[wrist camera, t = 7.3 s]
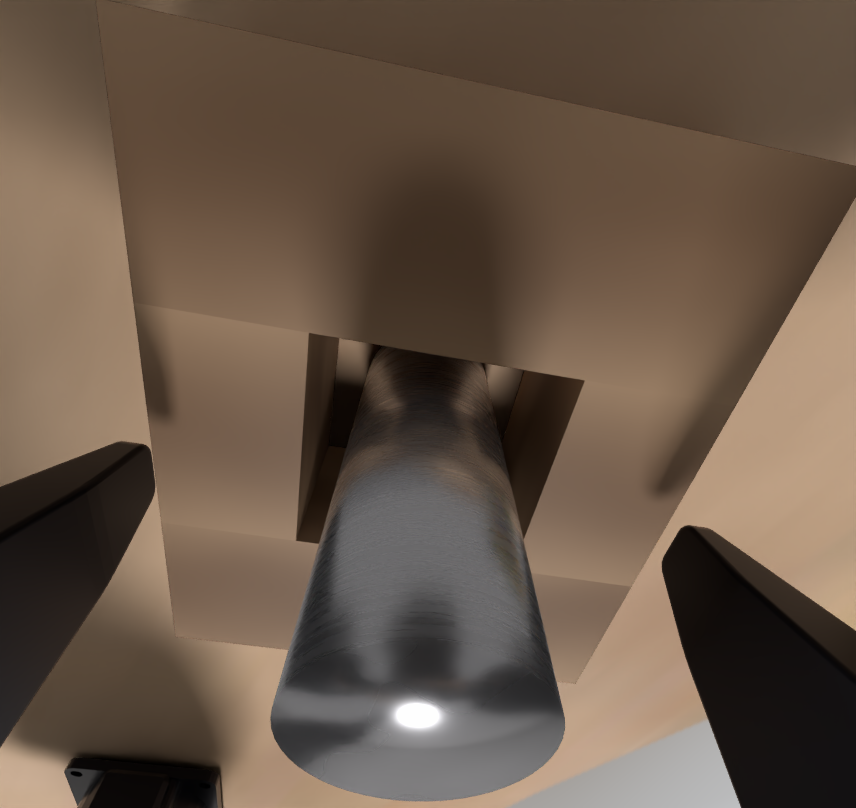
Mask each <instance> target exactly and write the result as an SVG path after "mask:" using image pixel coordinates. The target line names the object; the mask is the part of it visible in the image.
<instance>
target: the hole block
mask: <svg viewBox="0 0 856 808" xmlns="http://www.w3.org/2000/svg"><path fill="white" fill-rule="evenodd" d="M96 8H97V16H98V24H99V32H100V40H101V48H102V56H103V63H104V71H105V79H106V87H107V95H108V103H109V111H110V119H111V127H112V135H113V143H114V151H115V159H116V167H117V175H118V183H119V191H120V199H121V207H122V215H123V223H124V231H125V238H126V246H127V254H128V262H129V270H130V278H131V286H132V294H133V302H134V310H135V318H136V326H137V334H138V342H139V350H140V358H141V366H142V374H143V382H144V390H145V398H146V406H147V413H148V421H149V429H150V437H151V445H152V453H153V461H154V469H155V477H156V485H157V493H158V501H159V509H160V517H161V525H162V533H163V541H164V549H165V557H166V565H167V573H168V581H169V588H170V596H171V604H172V612H173V620H174V628H175V636H176V637H183V638H191V639H200V640H208V641H217V642H225V643H234V644H242V645H251V646H259V647H268V648H276V649H285V650H289V647H290V644H291V640H292V637H293V633H294V630H295V626H296V623H297V619H298V616H299V612H300V609H301V605H302V602H303V598H304V595H305V591H306V588H307V584H308V581H309V577H310V574H311V570H312V567H313V563H314V560H315V556H316V553H317V549H318V546H319V542H320V539H321V535H322V532H323V528H324V525H325V521H326V518H327V514H328V511H329V507H330V504H331V500H332V497H333V493H334V490H335V486H336V483H337V479H338V476H339V472H340V469H341V465H342V462H343V458H344V455H345V451H346V448H341V447H335V446H329V438H330V428H331V417H332V407H333V396H334V386H335V375H336V365H337V355H338V344H339V338H342V339H348V340H353V341H359V342H365V343H371V344H377V345H382V346H388V347H394V348H400V349H406V350H411V351H417V352H423V353H429V354H435V355H440V356H446V357H452V358H458V359H464V360H469V361H475V362H481V363H487V364H493V365H498V366H504V367H510V368H516V369H522V370H524V374H523V377H522V380H521V383H520V387H519V390H518V393H517V396H516V399H515V403H514V406H513V409H512V412H511V416H510V419H509V422H508V425H507V428H506V432H505V435H504V438H503V441H502V448H503V453H504V457H505V461H506V466H507V470H508V474H509V479H510V483H511V487H512V492H513V496H514V500H515V505H516V509H517V513H518V518H519V522H520V526H521V531H522V535H523V539H524V544H525V548H526V552H527V557H528V561H529V565H530V570H531V574H532V578H533V583H534V587H535V591H536V596H537V600H538V604H539V609H540V613H541V617H542V622H543V626H544V630H545V635H546V639H547V643H548V648H549V652H550V656H551V661H552V665H553V669H554V674H555V678H556V682H565V683H573V684H576V682H577V681H578V679H579V677H580V675H581V674H582V672H583V670H584V669H585V667H586V665H587V663H588V662H589V660H590V658H591V656H592V655H593V653H594V651H595V649H596V648H597V646H598V644H599V642H600V641H601V639H602V637H603V635H604V634H605V632H606V630H607V629H608V627H609V625H610V623H611V622H612V620H613V618H614V616H615V615H616V613H617V611H618V609H619V608H620V606H621V604H622V602H623V601H624V599H625V597H626V596H627V594H628V592H629V590H630V589H631V587H632V585H633V583H634V582H635V580H636V578H637V576H638V575H639V573H640V571H641V569H642V568H643V566H644V564H645V562H646V561H647V559H648V557H649V556H650V554H651V552H652V550H653V549H654V547H655V545H656V543H657V542H658V540H659V538H660V536H661V535H662V533H663V531H664V529H665V528H666V526H667V524H668V523H669V521H670V519H671V517H672V516H673V514H674V512H675V510H676V509H677V507H678V505H679V503H680V502H681V500H682V498H683V496H684V495H685V493H686V491H687V489H688V488H689V486H690V484H691V483H692V481H693V479H694V477H695V476H696V474H697V472H698V470H699V469H700V467H701V465H702V463H703V462H704V460H705V458H706V456H707V455H708V453H709V451H710V449H711V448H712V446H713V444H714V443H715V441H716V439H717V437H718V436H719V434H720V432H721V430H722V429H723V427H724V425H725V423H726V422H727V420H728V418H729V416H730V415H731V413H732V411H733V410H734V408H735V406H736V404H737V403H738V401H739V399H740V397H741V396H742V394H743V392H744V390H745V389H746V387H747V385H748V383H749V382H750V380H751V378H752V376H753V375H754V373H755V371H756V370H757V368H758V366H759V364H760V363H761V361H762V359H763V357H764V356H765V354H766V352H767V350H768V349H769V347H770V345H771V343H772V342H773V340H774V338H775V336H776V335H777V333H778V331H779V330H780V328H781V326H782V324H783V323H784V321H785V319H786V317H787V316H788V314H789V312H790V310H791V309H792V307H793V305H794V303H795V302H796V300H797V298H798V297H799V295H800V293H801V291H802V290H803V288H804V286H805V284H806V283H807V281H808V279H809V277H810V276H811V274H812V272H813V270H814V269H815V267H816V265H817V263H818V262H819V260H820V258H821V257H822V255H823V253H824V251H825V250H826V248H827V246H828V244H829V243H830V241H831V239H832V237H833V236H834V234H835V232H836V230H837V229H838V227H839V225H840V224H841V222H842V220H843V218H844V217H845V215H846V213H847V211H848V210H849V208H850V206H851V204H852V203H853V201H854V199H855V197H856V166H853V165H849V164H844V163H840V162H835V161H831V160H826V159H822V158H817V157H813V156H808V155H804V154H799V153H794V152H790V151H785V150H781V149H776V148H772V147H767V146H763V145H758V144H754V143H749V142H745V141H740V140H736V139H731V138H727V137H722V136H718V135H713V134H709V133H704V132H700V131H695V130H691V129H686V128H682V127H677V126H673V125H668V124H664V123H659V122H655V121H650V120H646V119H641V118H637V117H632V116H628V115H623V114H619V113H614V112H610V111H605V110H600V109H596V108H591V107H587V106H582V105H578V104H573V103H569V102H564V101H560V100H555V99H551V98H546V97H542V96H537V95H533V94H528V93H524V92H519V91H515V90H510V89H506V88H501V87H497V86H492V85H488V84H483V83H479V82H474V81H470V80H465V79H461V78H456V77H452V76H447V75H443V74H438V73H434V72H429V71H425V70H420V69H416V68H411V67H406V66H402V65H397V64H393V63H388V62H384V61H379V60H375V59H370V58H366V57H361V56H357V55H352V54H348V53H343V52H339V51H334V50H330V49H325V48H321V47H316V46H312V45H307V44H303V43H298V42H294V41H289V40H285V39H280V38H276V37H271V36H267V35H262V34H258V33H253V32H249V31H244V30H240V29H235V28H231V27H226V26H221V25H217V24H212V23H208V22H203V21H199V20H194V19H190V18H185V17H181V16H176V15H172V14H167V13H163V12H158V11H154V10H149V9H145V8H140V7H136V6H131V5H127V4H122V3H118V2H113V1H109V0H96Z"/></svg>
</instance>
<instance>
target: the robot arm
mask: <svg viewBox="0 0 856 808" xmlns="http://www.w3.org/2000/svg"><path fill="white" fill-rule="evenodd" d="M154 493H155V478H154V471H153V463H152V455H151V451H150V449H149V447H148V446H146V445H144V444H138V443H132V442H124V441H120V442H116V443H113V444H111V445H108V446H105V447H103V448H100V449H98V450H95V451H92V452H90V453H87V454H85V455H82V456H79V457H77V458H74V459H72V460H69V461H66V462H64V463H61V464H59V465H56V466H53V467H51V468H48V469H46V470H43V471H40V472H38V473H35V474H33V475H30V476H27V477H25V478H22V479H20V480H17V481H14V482H12V483H9V484H7V485H4V486H1V487H0V747H1V746H2V744H3V743H4V741H5V740H6V738H7V737H8V735H9V734H10V732H11V731H12V729H13V728H14V726H15V725H16V723H17V722H18V720H19V719H20V717H21V716H22V714H23V713H24V711H25V710H26V708H27V707H28V705H29V703H30V702H31V700H32V699H33V697H34V696H35V694H36V693H37V691H38V690H39V688H40V687H41V685H42V684H43V682H44V681H45V679H46V678H47V676H48V675H49V673H50V672H51V670H52V669H53V667H54V666H55V664H56V663H57V661H58V660H59V658H60V657H61V655H62V654H63V652H64V651H65V649H66V648H67V646H68V645H69V643H70V642H71V640H72V639H73V637H74V636H75V634H76V633H77V631H78V630H79V628H80V627H81V625H82V624H83V622H84V621H85V619H86V618H87V616H88V615H89V613H90V612H91V610H92V609H93V607H94V606H95V604H96V602H97V601H98V599H99V598H100V596H101V595H102V593H103V591H104V590H105V588H106V587H107V585H108V583H109V581H110V580H111V578H112V576H113V574H114V573H115V571H116V569H117V567H118V565H119V563H120V561H121V559H122V557H123V555H124V553H125V551H126V550H127V548H128V546H129V544H130V542H131V540H132V538H133V536H134V534H135V532H136V530H137V528H138V526H139V524H140V523H141V521H142V519H143V517H144V515H145V513H146V511H147V509H148V507H149V505H150V503H151V501H152V499H153V496H154ZM662 573H663V577H664V580H665V584H666V588H667V592H668V595H669V599H670V603H671V606H672V610H673V614H674V618H675V621H676V625H677V629H678V633H679V636H680V640H681V644H682V647H683V650H684V654H685V657H686V660H687V663H688V666H689V669H690V672H691V674H692V677H693V680H694V683H695V685H696V688H697V691H698V693H699V696H700V699H701V701H702V704H703V707H704V709H705V712H706V715H707V717H708V720H709V723H710V725H711V728H712V731H713V733H714V736H715V739H716V742H717V744H718V747H719V750H720V752H721V755H722V758H723V760H724V763H725V766H726V768H727V771H728V774H729V777H730V779H731V782H732V785H733V787H734V790H735V793H736V795H737V798H738V801H739V803H740V806H741V808H856V631H855V630H854V629H852V628H851V627H850V626H848V625H847V624H845V623H844V622H842V621H841V620H840V619H838V618H837V617H835V616H834V615H833V614H831V613H830V612H828V611H827V610H825V609H824V608H823V607H821V606H820V605H818V604H817V603H815V602H814V601H813V600H811V599H810V598H808V597H807V596H805V595H804V594H803V593H801V592H800V591H798V590H797V589H795V588H794V587H793V586H791V585H790V584H788V583H787V582H785V581H784V580H783V579H781V578H780V577H778V576H777V575H775V574H774V573H773V572H771V571H770V570H768V569H767V568H765V567H764V566H763V565H761V564H760V563H758V562H757V561H756V560H754V559H753V558H751V557H750V556H748V555H747V554H746V553H744V552H743V551H741V550H740V549H738V548H737V547H736V546H734V545H733V544H731V543H730V542H728V541H727V540H726V539H724V538H723V537H721V536H720V535H718V534H717V533H716V532H714V531H713V530H711V529H708V528H704V527H697V526H691V525H687V526H684V527H682V528H681V529H680V530H679V532H678V533H677V535H676V537H675V538H674V540H673V542H672V543H671V545H670V547H669V548H668V550H667V552H666V554H665V555H664V557H663V561H662ZM64 773H65V775H66V778H67V780H68V783H69V785H70V788H71V790H72V793H73V796H74V798H75V801H76V803H77V806H78V807H77V808H222V803H221V788H220V776H219V774H218V773H216V772H214V771H211V770H203V769H193V768H182V767H172V766H161V765H151V764H141V763H130V762H120V761H109V760H99V759H89V758H73V759H72V760H71V761H70V762H69V764H68V766H67V767H66V769H65V772H64Z"/></svg>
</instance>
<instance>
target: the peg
mask: <svg viewBox="0 0 856 808" xmlns="http://www.w3.org/2000/svg"><path fill="white" fill-rule="evenodd" d="M271 729H272V732H273V735H274V738H275V740H276V742H277V743H278V745H279V747H280V749H281V750H282V751H283V752H284V753H285V754H286V756H287V757H288V758H289V759H290V760H291V761H293V762H294V763H295V764H296V765H297V766H298V767H300V768H301V769H303V770H304V771H306V772H307V773H309V774H310V775H312V776H314V777H316V778H318V779H320V780H321V781H324V782H326V783H328V784H331V785H333V786H336V787H338V788H341V789H344V790H347V791H351V792H354V793H358V794H362V795H366V796H372V797H377V798H383V799H391V800H401V801H443V800H453V799H461V798H467V797H472V796H477V795H481V794H485V793H489V792H493V791H496V790H498V789H501V788H504V787H507V786H509V785H512V784H514V783H516V782H518V781H520V780H522V779H524V778H526V777H527V776H529V775H531V774H533V773H534V772H535V771H537V770H538V769H539V768H541V767H542V766H543V765H544V764H545V763H546V762H547V761H548V760H549V759H550V758H551V757H552V756H553V755H554V753H555V752H556V751H557V749H558V747H559V745H560V743H561V741H562V739H563V735H564V731H565V717H564V713H563V708H562V704H561V700H560V695H559V691H558V687H557V682H556V678H555V674H554V669H553V665H552V661H551V656H550V652H549V648H548V643H547V639H546V635H545V630H544V626H543V622H542V617H541V613H540V609H539V604H538V600H537V596H536V591H535V587H534V583H533V578H532V574H531V570H530V565H529V561H528V557H527V552H526V548H525V544H524V539H523V535H522V531H521V526H520V522H519V518H518V513H517V509H516V505H515V500H514V496H513V492H512V487H511V483H510V479H509V474H508V470H507V466H506V461H505V457H504V453H503V448H502V444H501V440H500V435H499V431H498V427H497V422H496V418H495V414H494V409H493V405H492V401H491V396H490V392H489V388H488V383H487V379H486V375H485V371H484V367H483V365H482V363H481V362H475V361H469V360H464V359H458V358H452V357H446V356H440V355H435V354H429V353H423V352H417V351H411V350H406V349H400V348H394V347H388V346H382V347H381V348H380V349H379V351H378V352H377V353H376V355H375V356H374V358H373V360H372V362H371V365H370V367H369V371H368V374H367V378H366V381H365V385H364V388H363V392H362V395H361V399H360V402H359V406H358V409H357V413H356V416H355V420H354V423H353V427H352V430H351V434H350V437H349V441H348V444H347V448H346V451H345V455H344V458H343V462H342V465H341V469H340V472H339V476H338V479H337V483H336V486H335V490H334V493H333V497H332V500H331V504H330V507H329V511H328V514H327V518H326V521H325V525H324V528H323V532H322V535H321V539H320V542H319V546H318V549H317V553H316V556H315V560H314V563H313V567H312V570H311V574H310V577H309V581H308V584H307V588H306V591H305V595H304V598H303V602H302V605H301V609H300V612H299V616H298V619H297V623H296V626H295V630H294V633H293V637H292V640H291V644H290V647H289V651H288V654H287V658H286V661H285V665H284V668H283V672H282V675H281V679H280V682H279V686H278V689H277V693H276V696H275V700H274V703H273V707H272V712H271Z"/></svg>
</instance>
